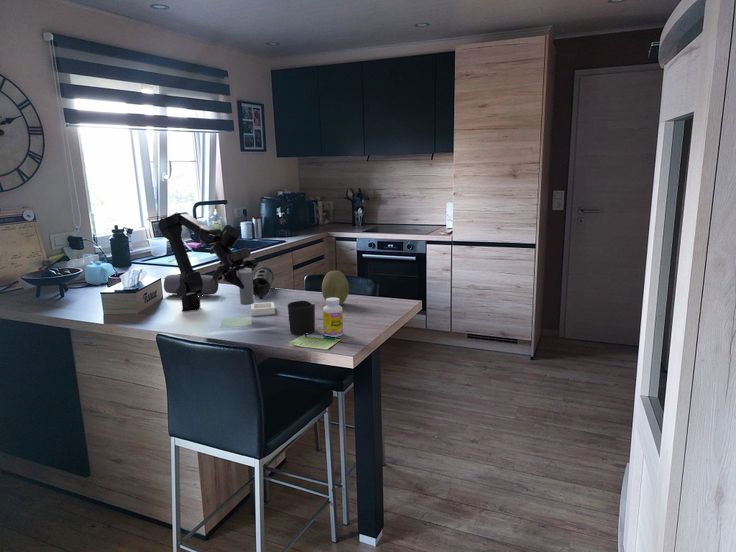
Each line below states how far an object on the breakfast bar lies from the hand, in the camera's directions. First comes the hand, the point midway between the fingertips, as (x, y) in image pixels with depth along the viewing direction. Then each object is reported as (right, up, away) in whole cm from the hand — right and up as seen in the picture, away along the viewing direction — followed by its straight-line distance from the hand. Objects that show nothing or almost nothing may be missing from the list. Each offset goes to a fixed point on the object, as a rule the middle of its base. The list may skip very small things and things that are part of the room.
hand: (248, 286), depth 189 cm
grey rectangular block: (-1, -6, +2) cm, 7 cm away
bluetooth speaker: (-36, -5, +43) cm, 57 cm away
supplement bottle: (+33, -17, -15) cm, 39 cm away
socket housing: (+3, -11, +12) cm, 17 cm away
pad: (-4, -14, -1) cm, 15 cm away
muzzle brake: (-5, -4, +48) cm, 49 cm away
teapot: (-95, 0, +74) cm, 120 cm away
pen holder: (+21, -16, -10) cm, 29 cm away
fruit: (+31, -8, +23) cm, 40 cm away
